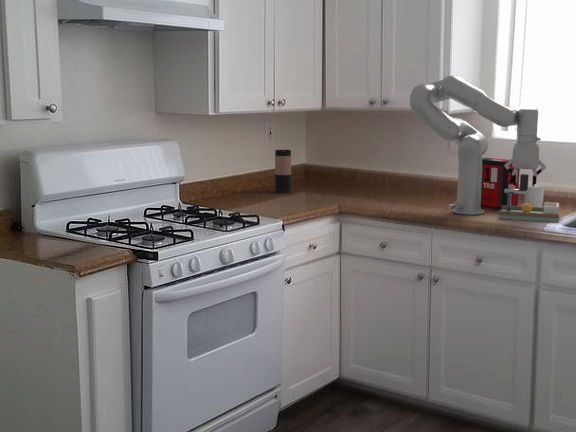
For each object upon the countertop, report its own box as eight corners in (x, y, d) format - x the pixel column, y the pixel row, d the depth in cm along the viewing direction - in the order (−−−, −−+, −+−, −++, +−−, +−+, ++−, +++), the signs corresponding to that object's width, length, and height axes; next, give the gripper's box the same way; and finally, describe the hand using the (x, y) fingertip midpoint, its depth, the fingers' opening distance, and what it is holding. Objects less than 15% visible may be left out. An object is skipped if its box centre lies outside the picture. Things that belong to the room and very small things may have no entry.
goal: (558, 212, 315) (559, 202, 314) (558, 217, 305) (559, 207, 304) (543, 212, 317) (544, 202, 316) (543, 216, 307) (543, 206, 306)
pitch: (558, 215, 318) (558, 208, 317) (558, 222, 303) (558, 214, 302) (501, 212, 325) (501, 205, 324) (498, 218, 310) (499, 211, 309)
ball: (526, 214, 311) (527, 204, 310) (518, 212, 314) (519, 203, 314) (533, 213, 313) (534, 203, 312) (525, 212, 316) (526, 202, 316)
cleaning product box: (472, 205, 343) (474, 159, 339) (483, 203, 349) (486, 157, 345) (505, 210, 331) (508, 162, 327) (517, 207, 337) (520, 160, 333)
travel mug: (272, 191, 381) (273, 149, 377) (288, 190, 383) (288, 149, 380) (277, 193, 374) (277, 151, 370) (293, 193, 376) (293, 150, 373)
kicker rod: (526, 210, 316) (528, 173, 314) (526, 213, 311) (528, 175, 308) (503, 209, 319) (505, 172, 317) (502, 211, 314) (504, 174, 311)
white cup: (527, 207, 337) (529, 184, 336) (546, 209, 333) (547, 185, 331) (520, 209, 331) (521, 186, 330) (538, 211, 327) (540, 187, 325)
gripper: (550, 139, 310) (547, 185, 313) (504, 138, 315) (501, 183, 319) (549, 141, 303) (546, 187, 306) (502, 139, 308) (500, 185, 312)
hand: (524, 185), depth 312 cm, fingers open, 6 cm apart
